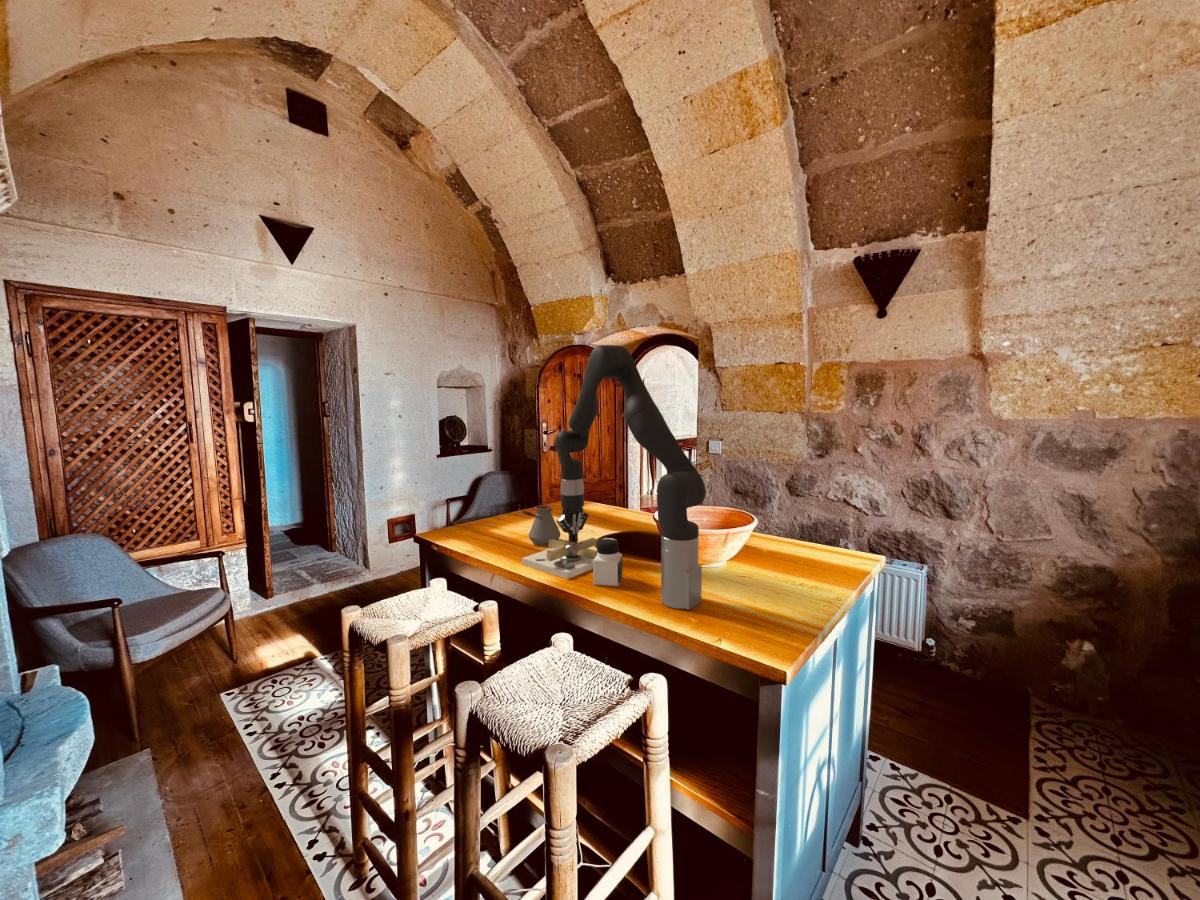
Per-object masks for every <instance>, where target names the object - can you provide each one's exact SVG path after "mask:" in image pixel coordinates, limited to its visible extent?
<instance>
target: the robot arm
mask: <svg viewBox="0 0 1200 900" xmlns="http://www.w3.org/2000/svg"><path fill="white" fill-rule="evenodd" d="M604 379H605V380H606V379H608V380H609V379H616V380H617V381H618V383H619V385H621V388H622V389H623V392H624V396H625V399H624V400H625V403H624V414H623V415H624V420H625V423H626V425H627V426H628V429H629V430H630V432H631V434H632V436H633V437H634V439H635V440H636V442H637V443H638V444H639V445H640V446H641V447H642V448H644V449H645V450H646V451H648V453H650V454H651V455H652V456H653V457H655V459H657V460H658V461H659V463H661V464H662V465H663V467H664V468H665V470H666V471H667V472H668V473H666V474H663V475H662V476H661V477H660V478H659V480H658V484H657V488H656V503H657V506H656V507H657V522H658V524H659V528H660V535H661V536H660V537H661V538H660V541H661V542H660V543H661V546H660V549H661V550H660V552H661V553H660V556H661V557H660V563H661V565H660V568H661V569H660V570H661V571H660V579H661V581H660V586H661V588H660V589H661V590H660V601H661V603H662V604H663V605H665V606H666V607H670V608H671V609H680V610H681V609H682V610H687V611H688V610H689V611H690V610H692V609H693V608H694V607H696V606H698V605H699V604H701V603H702V581H703V580H702V578H703V577H702V574H703V573H702V571H703V569H702V565H699V542H700V541H699V532H700V531H699V530H700V529H699V525H698V524H697V523H696V522H694V521H691V520H688V511H687V510H688V509H689V508H693V507H696V506H698V505H701V504H702V503H703V502H704V501H705V499H706V495H707V489H706V484H705V482H704V479H703V478H702V475H701V474H700V473H699V471H698V470H697V468H696V467H695V466H694V464H693V463H692V462H691V460H690V459H689V457H688V456H687V455H686V453H685V452H684V451H683V449H682V448H681V446H680V444H679V442H678V440H676V439H677V438H676V437H675V436H674V434H673V432H672V431H671V429H670V428H669V426H668V424H667V422H666V420H665V418H664V416H663V415H662V413H661V411H660V409H659V407H658V406H657V404H656V403H655V401H654V399H653V398H652V396H651V395H650V392H649V390H648V389H647V387H646V385H645V383H644V380H643V378H642V377H641V374H640V372H639V370H638V367H637V365H636V363H635V361H634V358H633V356H632V354H631V353H630V351H629V350H628V349H627V348H626V347H624V346H623V345H612V344H610V345H609V344H602V345H601V344H600V345H597V346H595V347H593V349H592V351H591V353H590V355H589V357H588V360H587V363H586V368H585V372H584V376H583V379H582V384H581V388H580V392H579V394H578V399H577V401H576V403H575V407H574V408H573V410H572V413H571V415H570V417H569V420H568V426H569V428H570V429H571V430H561V431H559V432H558V433H557V434H556V436H555V438H554V446H555V450H556V453H557V457H558V461H559V464H560V477H561V478H560V479H561V480H560V506H561V508H562V511H561V517H560V518H557V519H556V524H557V526H559V527H560V529H561V530H562V532H563V533H566V534H568V541H571V542H577V543H578V542H579V532H580V531H582V530H583V529H584V526H585V525H586V523H587V520H588V517H589V513H587V512H585V511H584V508H583V507H584V506H585V485H584V484H585V483H584V469H583V467H584V465H583V461H581V460H579V459H575V458H573V457H572V455H571V453H579V452H583V451H584V450H586V448H587V447H588V445H589V441H590V439H589V438H590V434H591V433H590V432H591V428H592V425H593V424H594V421H595V420H596V418H597V415H598V411H599V400H598V394H597V393H598V388H599V386H600V384H601V382H602V381H603V380H604Z"/></svg>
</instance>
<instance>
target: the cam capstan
mask: <svg viewBox="0 0 1200 900" xmlns="http://www.w3.org/2000/svg"><path fill="white" fill-rule="evenodd" d="M548 547H549V548H550V549H551V548H555V549H557V550H554V551H551V552H548V553H547V560H548V561H553V560H556V559H559V558H560V560H562V561H568V562H572V561H578V560H581V559H582V556H583V557H587V558H590V559H595V557H596V556H597V550H595V549H591V548H593V547H597V538H595V537H591V538H587V539H584V540H581V541H578V542H571V541H569V540H567V539H565V540H563V541H561V540H559V539H558V540H554V539H551V540H549V545H548Z"/></svg>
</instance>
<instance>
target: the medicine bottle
mask: <svg viewBox="0 0 1200 900" xmlns="http://www.w3.org/2000/svg"><path fill="white" fill-rule="evenodd" d="M619 547H620V545H619V541H618V540H617V539H615V538H610V537H609V538H608V537H605V538H601V539H599V540H597V541H596V551H597V556H596V557H595V559H594V560H593V569H592V570H593V571H592V573H593V574H592V576H593V577H592V579H593V581H592V582H593V585H594V586H605V587H606V586H608V587H619V586H620V583H621V581H622V579H623V554H622V553H620V552H619Z"/></svg>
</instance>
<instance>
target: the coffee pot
mask: <svg viewBox="0 0 1200 900" xmlns="http://www.w3.org/2000/svg"><path fill="white" fill-rule="evenodd" d="M553 509H554V507H553V506H552V505H537V506H535V507H534V510H535V511H536V513H532V512H530V511H527V510H522V511H520V512H519V514H518V515H519V516H521V513H522V514H524V516H522V518H524V517H525V516H526V515H527V516H528V517H533V518H534V520H533V523H532V526H531V527H530V530H529V532H528V535H527V537H528V538H529V540H530V541H531V542H532V543H533V544H534V545H535V546H536V545H537V546H549V540H551V539H554V540H558V541H559V539H560V537H561V532H560V529H559V527H558V524H557V521H555V518H554V516H553V514H552V510H553Z"/></svg>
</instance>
